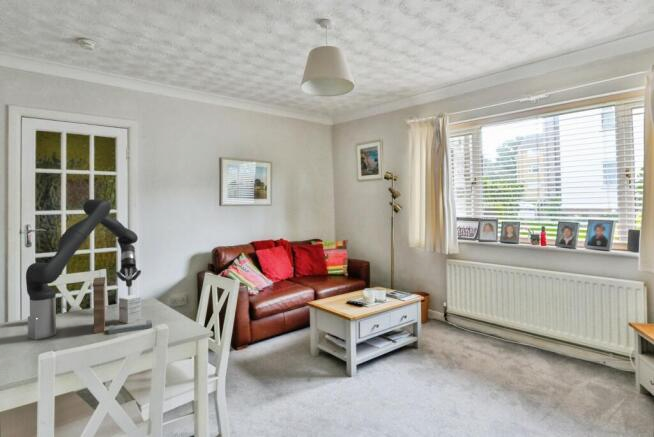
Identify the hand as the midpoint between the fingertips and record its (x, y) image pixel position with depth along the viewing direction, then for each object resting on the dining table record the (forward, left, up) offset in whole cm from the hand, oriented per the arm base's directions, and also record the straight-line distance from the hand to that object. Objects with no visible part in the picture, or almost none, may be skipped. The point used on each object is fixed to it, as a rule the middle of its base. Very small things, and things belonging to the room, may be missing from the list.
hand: (129, 286), depth 196 cm
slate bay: (-16, -23, -15) cm, 32 cm away
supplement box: (-9, -12, -15) cm, 21 cm away
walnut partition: (-22, -9, -15) cm, 28 cm away
